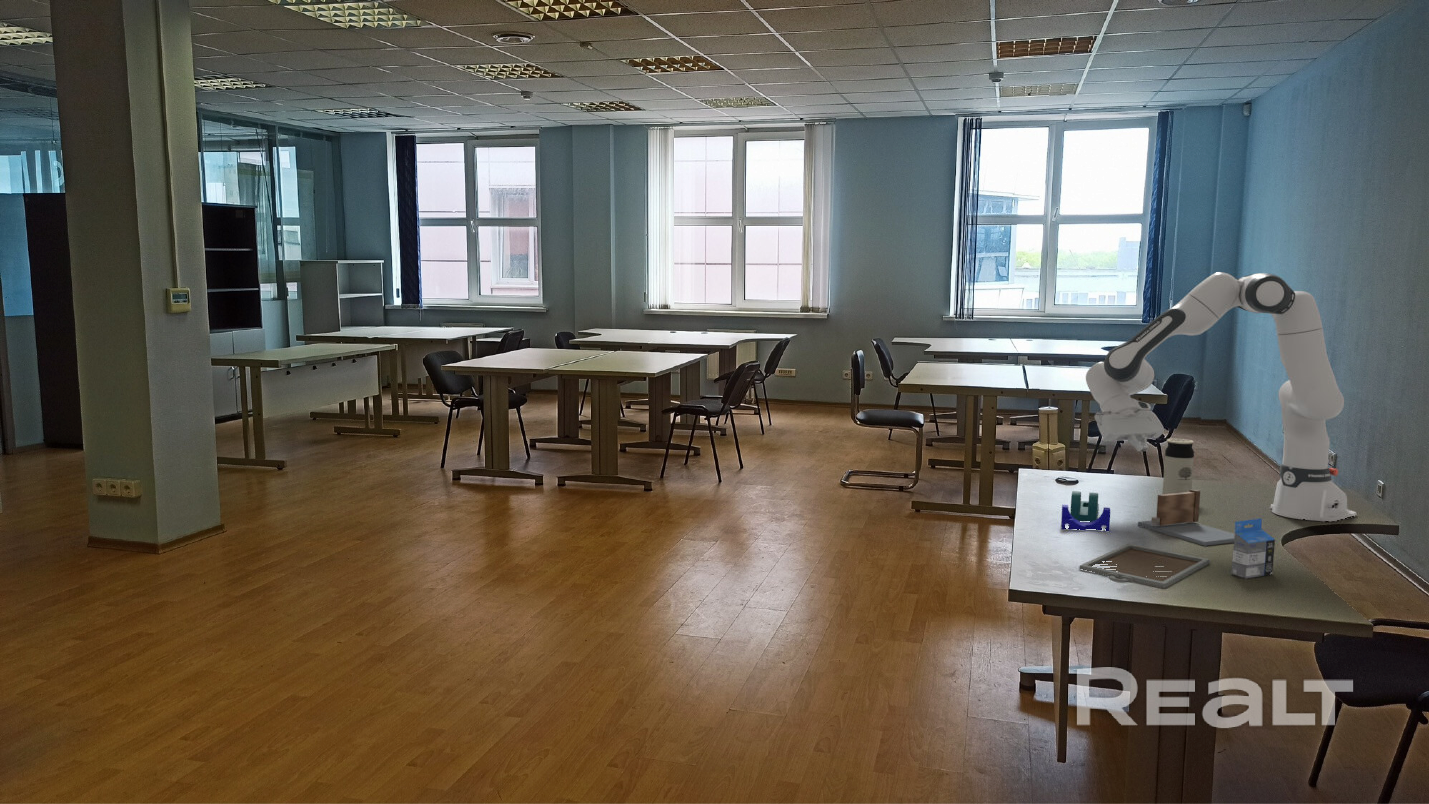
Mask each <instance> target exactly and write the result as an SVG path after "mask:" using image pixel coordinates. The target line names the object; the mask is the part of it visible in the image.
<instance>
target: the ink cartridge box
mask: <svg viewBox="0 0 1429 804" xmlns="http://www.w3.org/2000/svg"><path fill="white" fill-rule="evenodd" d="M1262 523H1263V518H1254V519H1253V518H1252V519H1246V520H1238V521H1234V534H1235V537H1234V542H1233V553H1232V561H1231V574H1230V575H1233V576H1235V577H1238V578H1240V579H1241V578H1242V579H1246V580H1247V579H1251V578H1252V579H1253V578H1258V577H1265V576H1270V575H1271V574H1272V575H1273V569H1274V558H1275V547H1276V546H1275V544H1276V539H1275V538H1274V537H1272V536H1271V535H1270V534H1269V533H1267V532H1266V531H1265V530H1263V528H1262V526H1263V525H1262ZM1248 525H1250V526H1251V527H1250V526H1249V527H1245V526H1248Z"/></svg>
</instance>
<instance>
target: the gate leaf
mask: <svg viewBox="0 0 1429 804" xmlns="http://www.w3.org/2000/svg"><path fill="white" fill-rule="evenodd" d="M1156 502H1157V503H1156V516H1151V520H1150V521H1151V525H1152V526H1159V525H1160V526H1161V525H1170V524H1179V523H1187V522H1195V523H1198V522H1199V518H1200V517H1199V516H1200V502H1201V490H1199V489H1194V488H1192V489H1191V490H1189V492H1182V493H1172V494H1163V493H1161V494H1158V495H1157V501H1156Z"/></svg>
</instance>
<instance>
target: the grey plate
mask: <svg viewBox="0 0 1429 804" xmlns="http://www.w3.org/2000/svg"><path fill="white" fill-rule="evenodd" d="M1137 526H1139V527H1141V526H1142V527H1141V528H1144V527H1145V529H1148V530H1152V531H1155V532H1159V533H1161V534H1165V535H1167V536H1171V537H1174V538H1177V539H1181V540H1184V541H1187V542H1190V543H1194V544H1198V545H1200V546H1203V547H1207V546H1215V545H1224V544H1231V543H1234V537H1235V532H1231V531H1230V532H1229V531H1226V530H1223V529H1219V528H1216V527H1212V526H1209V525H1205V524H1202V523H1198V522H1187V523H1179V524H1170V525H1161V526H1160V525H1159V526H1152V525H1151V520H1143V521H1141V520H1140V521H1137Z"/></svg>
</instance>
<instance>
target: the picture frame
mask: <svg viewBox="0 0 1429 804" xmlns="http://www.w3.org/2000/svg"><path fill="white" fill-rule="evenodd" d="M1102 561H1105V562H1104V563H1103V562H1102ZM1106 561H1112V562H1106ZM1210 561H1211V560H1210V558H1205V557H1201V556H1195V555H1190V554H1185V553H1179V552H1174V551H1168V550H1164V549H1161V548H1160V549H1159V548H1154V547H1149V546H1143V545H1138V544H1133V543H1127V544H1125V545H1122V546H1119V547H1118V548H1115V549H1114V550H1111V551H1109V552H1107V553H1104V554H1103V555H1099V556H1097V557H1096V558H1093V559H1090V560H1089V561H1087V562H1084V563H1082V564H1081V565H1079V569H1083V570H1087V571H1092V572H1095V573H1094V574H1096V573H1099V574H1098V575H1101V574H1104V575H1103V576H1105V575H1106V577H1107V576H1109V577H1108V579H1110V581H1113V582H1116V581H1117V582H1118V583H1130V582H1131V583H1138V584H1141V585H1147V586H1151V587H1156V588H1160V589H1166V588H1168V587H1170V586H1172V585H1174V584H1176V583H1177V582H1179V581H1181V580H1182V579H1184V578H1186V577H1188V576H1189V574H1190V575H1191V574H1193V573H1195V572H1196V571H1198V570H1200V569H1202V568H1204V567H1205V566H1207V565H1209V564H1210ZM1095 564H1108V565H1100V566H1117V567H1110V568H1104V569H1102V568H1097V567H1092V566H1093V565H1095ZM1116 564H1117V565H1116ZM1155 566H1164V567H1155ZM1106 569H1116V570H1106ZM1087 571H1086V572H1087ZM1116 571H1118V572H1116ZM1153 571H1154V572H1153ZM1155 571H1172V572H1155ZM1146 576H1147V577H1146ZM1156 576H1157V577H1156ZM1158 576H1159V577H1158ZM1160 576H1167V577H1160ZM1171 576H1172V577H1171ZM1180 579H1181V580H1180Z"/></svg>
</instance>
